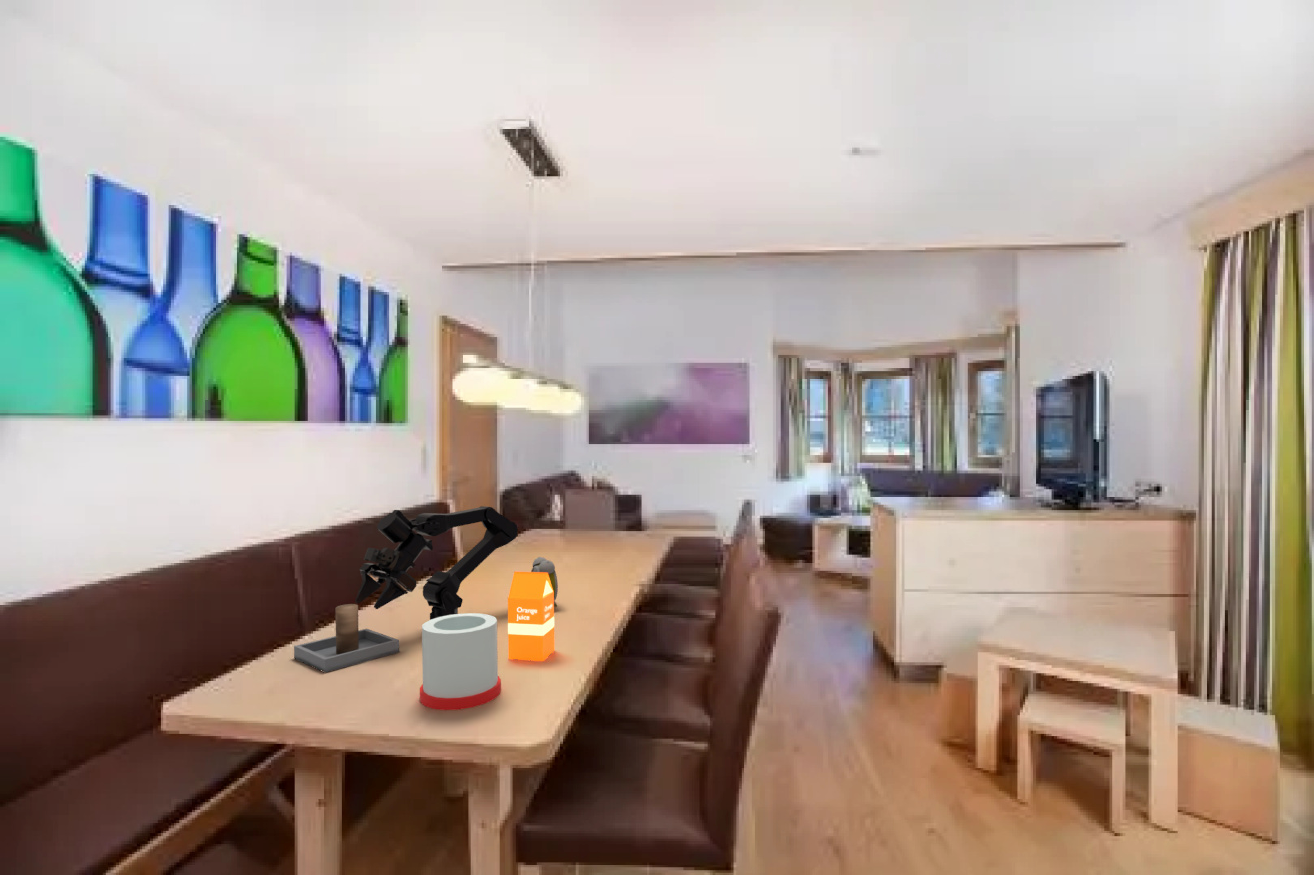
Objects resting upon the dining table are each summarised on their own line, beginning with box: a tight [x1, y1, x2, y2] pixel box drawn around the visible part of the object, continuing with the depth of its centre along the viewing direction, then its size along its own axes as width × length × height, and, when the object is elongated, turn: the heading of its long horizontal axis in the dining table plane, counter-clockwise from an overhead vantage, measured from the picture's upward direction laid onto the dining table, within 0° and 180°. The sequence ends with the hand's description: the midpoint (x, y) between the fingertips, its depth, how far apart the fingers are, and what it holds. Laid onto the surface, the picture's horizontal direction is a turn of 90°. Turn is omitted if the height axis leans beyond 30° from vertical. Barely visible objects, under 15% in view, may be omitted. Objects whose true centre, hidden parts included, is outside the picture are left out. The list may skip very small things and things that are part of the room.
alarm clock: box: [530, 556, 559, 607], centre depth 206 cm, size 12×7×15 cm, turn 28°
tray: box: [293, 628, 400, 673], centre depth 164 cm, size 18×16×3 cm
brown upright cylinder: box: [334, 603, 359, 655], centre depth 164 cm, size 5×5×11 cm
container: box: [419, 612, 502, 711], centre depth 138 cm, size 16×16×15 cm
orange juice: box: [507, 571, 555, 662], centre depth 162 cm, size 8×9×20 cm
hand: (365, 605), depth 167 cm, fingers open, 9 cm apart
